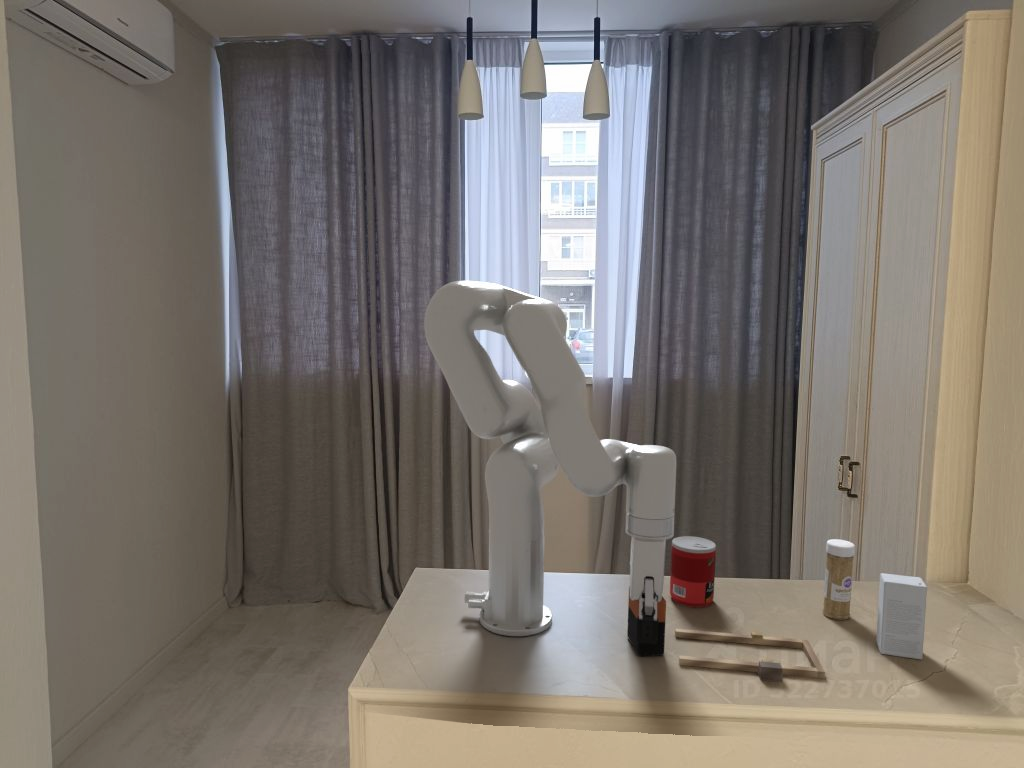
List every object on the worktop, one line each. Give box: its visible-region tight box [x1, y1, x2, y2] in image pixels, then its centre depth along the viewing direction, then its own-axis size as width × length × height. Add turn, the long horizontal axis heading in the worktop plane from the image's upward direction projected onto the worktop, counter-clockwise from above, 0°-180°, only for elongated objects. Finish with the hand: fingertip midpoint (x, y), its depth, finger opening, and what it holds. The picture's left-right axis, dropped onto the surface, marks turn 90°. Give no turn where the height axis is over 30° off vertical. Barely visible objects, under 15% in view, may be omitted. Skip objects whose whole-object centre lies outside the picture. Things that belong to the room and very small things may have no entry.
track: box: [674, 628, 826, 682], centre depth 107 cm, size 21×12×2 cm, turn 80°
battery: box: [627, 580, 667, 657], centre depth 110 cm, size 4×7×10 cm, turn 6°
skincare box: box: [876, 572, 928, 660], centre depth 110 cm, size 6×4×12 cm
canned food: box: [669, 535, 717, 608], centre depth 128 cm, size 8×8×11 cm
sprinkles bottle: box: [822, 538, 856, 621], centre depth 122 cm, size 5×5×13 cm
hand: (646, 629), depth 111 cm, fingers closed on battery, 7 cm apart
